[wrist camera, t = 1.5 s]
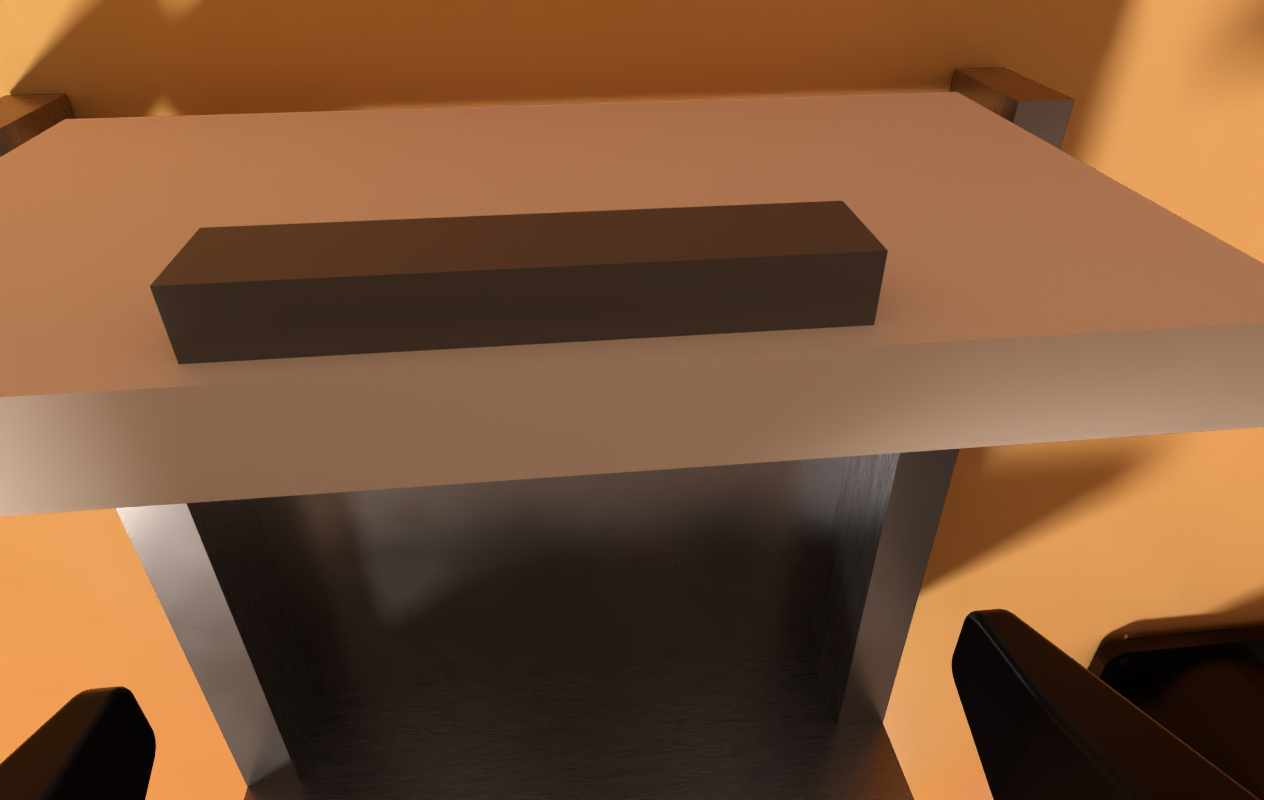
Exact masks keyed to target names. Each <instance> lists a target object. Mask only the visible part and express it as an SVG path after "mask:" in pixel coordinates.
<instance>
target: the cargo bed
mask: <svg viewBox="0 0 1264 800" xmlns="http://www.w3.org/2000/svg"><path fill="white" fill-rule="evenodd" d="M950 92H958V93H960V94H962V95H964V96H965V97H967V98H969V99H971V100H972V101H974V102H976V103H978V104H980V105H981V106H983V107H985V108H987V109H989V110H990V111H992V112H994V113H996V114H997V115H999V116H1001V117H1003V118H1005V119H1006V120H1008V121H1010V122H1012V123H1013V124H1015V125H1017V126H1019V127H1021V128H1022V129H1024V130H1026V131H1028V132H1030V133H1031V134H1033V135H1035V136H1037V137H1038V138H1040V139H1042V140H1044V141H1046V142H1047V143H1049V144H1051V145H1053V146H1054V147H1056V148H1058V149H1060V147H1061V144H1062V141H1063V137H1064V134H1065V130H1066V127H1067V123H1068V120H1069V117H1070V113H1071V110H1072V106H1073V103H1074V99H1072V98H1070V97H1068V96H1065V95H1063V94H1061V93H1059V92H1057V91H1054V90H1052V89H1050V88H1048V87H1046V86H1043V85H1041V84H1039V83H1037V82H1035V81H1032V80H1030V79H1028V78H1026V77H1024V76H1021V75H1019V74H1017V73H1015V72H1013V71H1010V70H1008V69H1006V68H968V69H955V72H954V77H953V82H952V86H951V91H950ZM65 119H75V118H74V115H73V112H72V110H71V107H70V104H69V102H68V99H67V96H66V94H37V95H6V96H3V97H1V98H0V157H1V156H3V155H5V154H7V153H8V152H10V151H12V150H13V149H15V148H17V147H18V146H20V145H22V144H24V143H25V142H27V141H29V140H30V139H32V138H34V137H36V136H37V135H39V134H41V133H42V132H44V131H46V130H47V129H49V128H51V127H53V126H54V125H56V124H58V123H59V122H61V121H63V120H65ZM958 452H959V449H946V450H932V451H918V452H904V453H889V454H875V455H861V456H847V457H833V458H819V459H805V460H790V461H776V462H762V463H748V464H734V465H720V466H705V467H691V468H677V469H663V470H649V471H635V472H621V473H606V474H592V475H578V476H564V477H550V478H536V479H522V480H507V481H493V482H479V483H465V484H451V485H437V486H423V487H408V488H394V489H380V490H366V491H352V492H338V493H324V494H309V495H295V496H281V497H267V498H253V499H239V500H225V501H210V502H196V503H182V504H168V505H154V506H140V507H126V508H116V510H117V512H118V514H119V516H120V518H121V520H122V523H123V525H124V527H125V529H126V531H127V533H128V535H129V537H130V539H131V541H132V544H133V546H134V548H135V550H136V552H137V554H138V556H139V558H140V560H141V563H142V565H143V567H144V569H145V571H146V573H147V575H148V577H149V579H150V582H151V584H152V586H153V588H154V590H155V592H156V594H157V596H158V598H159V601H160V603H161V605H162V607H163V609H164V611H165V613H166V615H167V617H168V620H169V622H170V624H171V626H172V628H173V630H174V632H175V634H176V636H177V639H178V641H179V643H180V645H181V647H182V649H183V651H184V653H185V655H186V658H187V660H188V662H189V664H190V666H191V668H192V670H193V672H194V674H195V677H196V679H197V681H198V683H199V685H200V687H201V689H202V691H203V693H204V696H205V698H206V700H207V702H208V704H209V706H210V708H211V710H212V712H213V715H214V717H215V719H216V721H217V723H218V725H219V727H220V729H221V731H222V734H223V736H224V738H225V740H226V742H227V744H228V746H229V748H230V750H231V753H232V755H233V757H234V759H235V761H236V763H237V765H238V767H239V769H240V772H241V774H242V776H243V778H244V780H245V782H246V784H247V786H248V788H247V791H246V795H245V798H244V800H914V798H913V796H912V793H911V791H910V788H909V786H908V783H907V781H906V779H905V776H904V774H903V771H902V769H901V766H900V764H899V761H898V759H897V757H896V754H895V752H894V749H893V747H892V744H891V742H890V739H889V737H888V735H887V732H886V730H885V727H884V725H883V720H884V717H885V713H886V709H887V706H888V702H889V699H890V695H891V692H892V688H893V684H894V681H895V677H896V674H897V670H898V667H899V663H900V659H901V656H902V652H903V649H904V645H905V642H906V638H907V634H908V631H909V627H910V624H911V620H912V617H913V613H914V609H915V606H916V602H917V599H918V595H919V591H920V588H921V584H922V581H923V577H924V574H925V570H926V566H927V563H928V559H929V556H930V552H931V549H932V545H933V541H934V538H935V534H936V531H937V527H938V524H939V520H940V516H941V513H942V509H943V506H944V502H945V499H946V495H947V491H948V488H949V484H950V481H951V477H952V474H953V470H954V466H955V463H956V459H957V456H958Z"/></svg>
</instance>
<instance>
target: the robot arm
mask: <svg viewBox="0 0 1264 800" xmlns="http://www.w3.org/2000/svg"><path fill="white" fill-rule="evenodd" d="M952 673H953V678H954V681H955V685H956V688H957V691H958V694H959V697H960V700H961V703H962V706H963V709H964V712H965V715H966V718H967V721H968V724H969V727H970V730H971V733H972V736H973V739H974V742H975V745H976V748H977V751H978V754H979V757H980V760H981V763H982V766H983V769H984V772H985V775H986V778H987V781H988V784H989V787H990V790H991V793H992V796H993V799H994V800H1264V626H1262V627H1252V628H1241V629H1230V630H1220V631H1209V632H1198V633H1188V634H1177V635H1167V636H1156V637H1145V638H1135V639H1124V640H1117V641H1113V642H1110V643H1108V644H1106V645H1104V646H1103V647H1102V648H1100V649H1099V651H1098V652H1097V653H1096V655H1095V657H1094V659H1093V661H1092V663H1091V665H1090V667H1089V669H1088V670H1087V669H1086V668H1085V667H1083V666H1082V665H1081V664H1079V663H1078V662H1077V661H1075V660H1074V659H1073V658H1071V657H1070V656H1069V655H1067V654H1066V653H1065V652H1063V651H1062V650H1061V649H1059V648H1058V647H1057V646H1055V645H1054V644H1053V643H1051V642H1050V641H1049V640H1047V639H1046V638H1045V637H1043V636H1042V635H1041V634H1039V633H1038V632H1037V631H1035V630H1034V629H1033V628H1031V627H1030V626H1029V625H1028V624H1026V623H1025V622H1024V621H1022V620H1021V619H1020V618H1018V617H1017V616H1016V615H1014V614H1013V613H1011V612H1009V611H1007V610H1004V609H992V610H981V611H973V612H971V613H970V614H969V615H967V616H966V618H965V621H964V624H963V627H962V630H961V633H960V636H959V639H958V642H957V645H956V648H955V651H954V654H953V658H952ZM155 750H156V741H155V736H154V732H153V730H152V728H151V726H150V724H149V722H148V721H147V719H146V717H145V715H144V713H143V712H142V710H141V708H140V706H139V704H138V702H137V701H136V699H135V697H134V695H133V694H132V692H131V691H130V690H128V689H127V688H125V687H109V688H97V689H89V690H85V691H83V692H81V693H79V694H78V695H76V696H75V697H73V698H72V699H71V700H70V701H69V702H68V703H67V704H65V705H64V706H63V707H62V708H61V709H60V710H59V711H58V712H57V713H56V714H55V715H53V716H52V717H51V718H50V719H49V720H48V721H47V722H46V723H45V724H44V725H42V726H41V727H40V728H39V729H38V730H37V731H36V732H35V733H34V734H33V735H32V736H30V737H29V738H28V739H27V740H26V741H25V742H24V743H23V744H22V745H21V746H19V747H18V748H17V749H16V750H15V751H14V752H13V753H12V754H11V755H10V756H9V757H7V758H6V759H5V760H4V761H3V762H2V763H1V764H0V800H145V797H146V793H147V789H148V784H149V780H150V775H151V771H152V767H153V762H154V758H155Z"/></svg>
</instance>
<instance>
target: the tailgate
mask: <svg viewBox="0 0 1264 800" xmlns="http://www.w3.org/2000/svg"><path fill="white" fill-rule="evenodd" d="M1257 427H1264V264H1263V263H1261V262H1260V261H1258V260H1256V259H1254V258H1252V257H1251V256H1249V255H1247V254H1245V253H1244V252H1242V251H1240V250H1238V249H1236V248H1235V247H1233V246H1231V245H1229V244H1227V243H1226V242H1224V241H1222V240H1220V239H1219V238H1217V237H1215V236H1213V235H1211V234H1210V233H1208V232H1206V231H1204V230H1202V229H1201V228H1199V227H1197V226H1195V225H1194V224H1192V223H1190V222H1188V221H1186V220H1185V219H1183V218H1181V217H1179V216H1178V215H1176V214H1174V213H1172V212H1170V211H1169V210H1167V209H1165V208H1163V207H1161V206H1160V205H1158V204H1156V203H1154V202H1153V201H1151V200H1149V199H1147V198H1145V197H1144V196H1142V195H1140V194H1138V193H1137V192H1135V191H1133V190H1131V189H1129V188H1128V187H1126V186H1124V185H1122V184H1120V183H1119V182H1117V181H1115V180H1113V179H1112V178H1110V177H1108V176H1106V175H1104V174H1103V173H1101V172H1099V171H1097V170H1096V169H1094V168H1092V167H1090V166H1088V165H1087V164H1085V163H1083V162H1081V161H1079V160H1078V159H1076V158H1074V157H1072V156H1071V155H1069V154H1067V153H1065V152H1063V151H1062V150H1060V149H1058V148H1056V147H1054V146H1053V145H1051V144H1049V143H1047V142H1046V141H1044V140H1042V139H1040V138H1038V137H1037V136H1035V135H1033V134H1031V133H1030V132H1028V131H1026V130H1024V129H1022V128H1021V127H1019V126H1017V125H1015V124H1013V123H1012V122H1010V121H1008V120H1006V119H1005V118H1003V117H1001V116H999V115H997V114H996V113H994V112H992V111H990V110H989V109H987V108H985V107H983V106H981V105H980V104H978V103H976V102H974V101H972V100H971V99H969V98H967V97H965V96H964V95H962V94H960V93H958V92H937V93H905V94H872V95H839V96H806V97H774V98H741V99H708V100H675V101H642V102H610V103H577V104H544V105H511V106H479V107H446V108H413V109H380V110H348V111H315V112H282V113H249V114H217V115H184V116H151V117H118V118H86V119H65V120H63V121H61V122H59V123H58V124H56V125H54V126H53V127H51V128H49V129H47V130H46V131H44V132H42V133H41V134H39V135H37V136H36V137H34V138H32V139H30V140H29V141H27V142H25V143H24V144H22V145H20V146H18V147H17V148H15V149H13V150H12V151H10V152H8V153H7V154H5V155H3V156H1V157H0V516H12V515H27V514H41V513H55V512H69V511H83V510H97V509H111V508H126V507H140V506H154V505H168V504H182V503H196V502H210V501H225V500H239V499H253V498H267V497H281V496H295V495H309V494H324V493H338V492H352V491H366V490H380V489H394V488H408V487H423V486H437V485H451V484H465V483H479V482H493V481H507V480H522V479H536V478H550V477H564V476H578V475H592V474H606V473H621V472H635V471H649V470H663V469H677V468H691V467H705V466H720V465H734V464H748V463H762V462H776V461H790V460H805V459H819V458H833V457H847V456H861V455H875V454H889V453H904V452H918V451H932V450H946V449H960V448H974V447H988V446H1003V445H1017V444H1031V443H1045V442H1059V441H1073V440H1087V439H1102V438H1116V437H1130V436H1144V435H1158V434H1172V433H1186V432H1201V431H1215V430H1229V429H1243V428H1257Z"/></svg>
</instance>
